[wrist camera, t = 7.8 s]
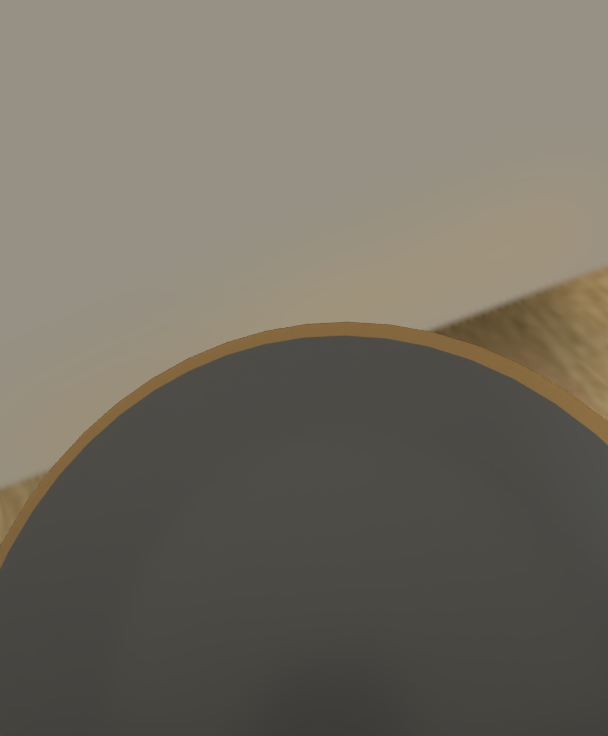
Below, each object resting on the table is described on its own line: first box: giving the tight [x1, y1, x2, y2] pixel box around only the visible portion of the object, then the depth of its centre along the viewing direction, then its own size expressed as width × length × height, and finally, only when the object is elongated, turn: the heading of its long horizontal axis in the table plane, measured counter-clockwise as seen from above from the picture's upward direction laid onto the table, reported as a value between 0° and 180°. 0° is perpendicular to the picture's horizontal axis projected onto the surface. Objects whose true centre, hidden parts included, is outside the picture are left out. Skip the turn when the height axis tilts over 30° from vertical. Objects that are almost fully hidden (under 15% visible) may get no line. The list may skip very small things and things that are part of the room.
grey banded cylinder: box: [0, 322, 608, 736], centre depth 8 cm, size 4×4×12 cm
